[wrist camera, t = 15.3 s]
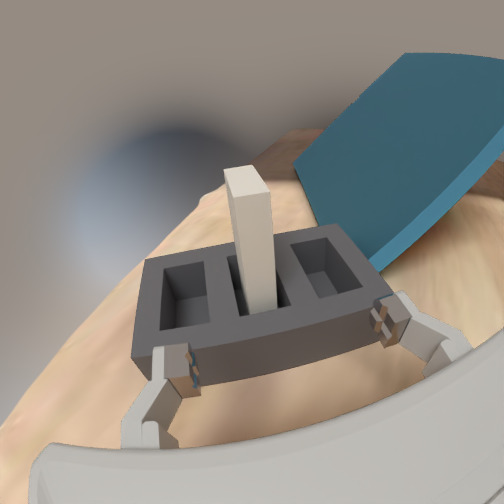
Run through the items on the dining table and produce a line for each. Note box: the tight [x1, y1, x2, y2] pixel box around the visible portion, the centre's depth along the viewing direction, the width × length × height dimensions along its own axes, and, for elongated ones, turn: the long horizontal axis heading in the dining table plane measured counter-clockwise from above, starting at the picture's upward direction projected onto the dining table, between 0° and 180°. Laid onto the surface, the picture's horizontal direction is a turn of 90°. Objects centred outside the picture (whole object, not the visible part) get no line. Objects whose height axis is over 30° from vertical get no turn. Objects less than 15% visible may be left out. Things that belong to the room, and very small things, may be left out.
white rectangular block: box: [224, 165, 277, 315], centre depth 20 cm, size 5×2×12 cm, turn 11°
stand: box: [131, 223, 394, 386], centre depth 23 cm, size 11×19×5 cm, turn 101°
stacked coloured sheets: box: [293, 53, 504, 273], centre depth 34 cm, size 35×18×35 cm
